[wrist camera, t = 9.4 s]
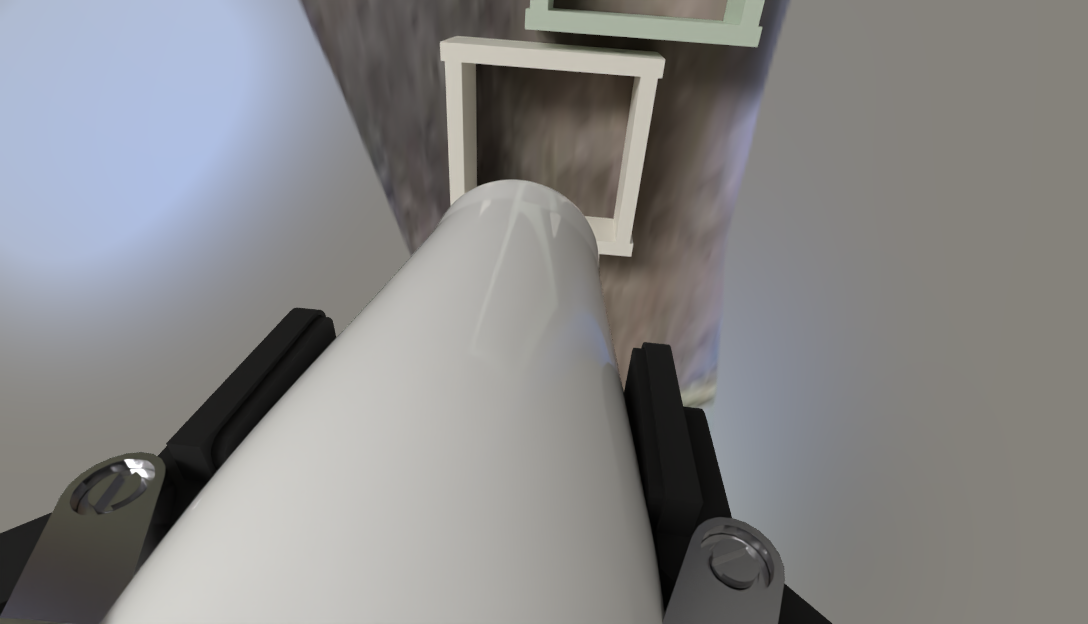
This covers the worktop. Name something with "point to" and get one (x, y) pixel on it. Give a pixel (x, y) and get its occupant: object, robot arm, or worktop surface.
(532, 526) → the white cup
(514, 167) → the worktop surface
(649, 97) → the cream frame
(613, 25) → the sage frame
